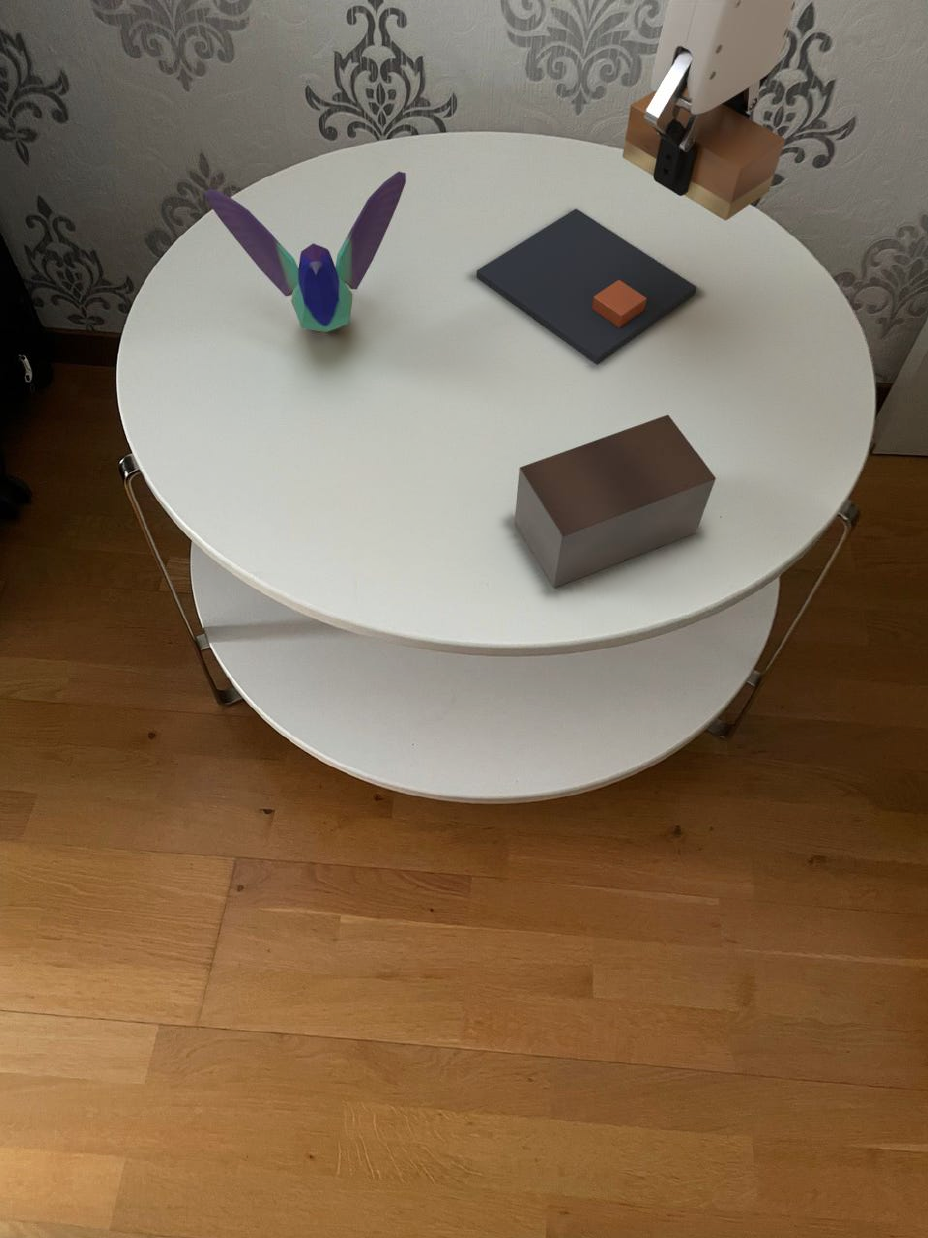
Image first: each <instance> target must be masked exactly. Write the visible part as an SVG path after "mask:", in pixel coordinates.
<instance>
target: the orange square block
mask: <svg viewBox="0 0 928 1238" xmlns="http://www.w3.org/2000/svg"><path fill="white" fill-rule="evenodd" d="M645 303H646V297H644V296H643V295H641V294H640V293H638V292H637V291H635V290H634V289H632V288H631V287H629V286H628V285H626V284H625V283H623V282H622V281H620V280H618V281H616V282H615V283H613V284H612V285H610V286H609V287H607V288H606V289H604V290H603V291H601V292H600V293H598V294H597V295H596V296H594V299H593V305H592V309H593V310H594V311H595V312H597V313H598V314H600V315H601V316H603V317H604V318H605V319H607V320H608V321H610V322H611V323H613V324H614V325H615V326H617V327H618V328H620V327H621V326H623V325H624V324H626V323H627V322H628V321H630V320H631V319H633V318H634V317H636V316H637V315H638V314H640V313H641V312H643V311H644V308H645Z"/></svg>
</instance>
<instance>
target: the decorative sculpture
mask: <svg viewBox="0 0 928 1238" xmlns="http://www.w3.org/2000/svg"><path fill="white" fill-rule="evenodd" d="M406 183H407V173H406V172H402V171H397V172H395V173H394V174H392V175H391V176H390V177H388V178H387V179H386V180H384V181H383V183H381V185H379V186H378V188H377V189H376V190H375V191H374V192H373V193H372V194H371V195H370V196H369V198H368V199H366V202H365V204H364V205H363V207H362V209H361V211H360V212H359V213H358V216H357V218H356V219H355V221H354V223H353V224H352V226H351V228H350V230H349V232H348V234H347V235H346V238H345V240H344V241H343V242H342V245H341V247H340V249H339V250H338V253H337V256H336V262H335V263H334V260H333V257H332V255H331V252H330V250H329V249H328V248H326V247H324V246H321V245H319V244H316V243H311V244H310V245H308V246H307V247H306V248H304V249H302V250H301V251H300V255H299V260H298V261H299V262H298V264H297V262H296V260H295V258H294V257H293V256H292V254H290V252H288V251H289V250H287V249H286V248H285V247H284V245H282V244H281V242H280V241H279V240H278V239H277V238H276V237H275V236H274V235H273V234H272V233H271V232H270V231H269V229H267V228H266V227H265V226H264V224H263V223H262V222H261V221H260V220H259V219H258V218H257V217H256V216H255V215H254V214H253V213H252V212H251V211H250V210H249V209H248V208H246V207H244V206H243V205H242V204H240V203H239V202H238V201H237V200H235V199H233V198H232V197H230V196H228V195H226V194H224V193H222V192H220V191H217V190H215V189H213V188H210V189H207V190H205V191H204V195H205V199H206V201H207V203H208V205H209V206H210V208H211V209H212V210H213V212H214V213H215V215H216V216H217V217H218V218H219V220H220V221H221V223H222V224H223V225H224V226H225V227H226V229H227V230H228V231H229V233H230V235H232V237H233V238H234V239H235V240H236V241H237V243H238V244H239V246H241V247H242V249H243V250H244V251H245V252H246V254H247V255H248V257H250V258H251V260H252V261H253V263H255V265H256V266H257V267H258V268H259V270H260V271H261V272H262V273H263V274H264V275H265V276H266V278H267V279H268V280H270V281H271V283H272V284H273V285H274V286H275V287H276V288H277V289H278V290H279V291H280V292H281V293H282V294H283V295H284V297H286V298H287V297H291V299H290V302H291V305H292V307H293V310H294V312H295V314H296V317H297V319H298V322H299V324H300V327H301V329H306V330H311V331H317V332H323V333H324V332H325V333H328V332H330V331H333V330H336V329H338V328H342V327H343V326H346V325H349V324H350V322H351V315H352V308H353V307H352V306H353V298H354V295H353V292H352V290H358V288H359V286H360V284H361V283H362V281H363V279H364V277H365V276H366V274H367V272H368V270H369V268H370V267H371V265H372V263H373V262H374V259H375V257H376V255H377V252H378V250H379V248H380V246H381V244H382V242H383V239H384V237H385V235H386V232H387V230H388V227H389V226H390V223H391V221H392V219H393V217H394V215H395V211H396V210H397V207H398V205H399V203H400V200H401V197H402V194H403V192H404V189H405V186H406Z"/></svg>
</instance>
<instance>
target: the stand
mask: <svg viewBox="0 0 928 1238" xmlns="http://www.w3.org/2000/svg"><path fill="white" fill-rule="evenodd" d="M698 453H699V452H697V451H696V450H695V448H694V447H693V446H692V444H691V443H690V442H689V440H688V439H687V437H686V436H685V435H684V433H683V432H682V431H681V429H680V428H679V427H678V425H677V424H676V423H675V422H674V420H673V419H672V418H671V416H670V415H669V414H666V415H662V416H660V417H657V418H655V419H651V420H649V421H646V422H644V423H640V424H637V425H635V426H632V427H629V428H627V429H624V430H621V431H618V432H615V433H612V434H609V435H607V436H605V437H601V438H599V439H595V440H593V441H590V442H587V443H584V444H581V445H578V446H576V447H573V448H570V449H567V450H565V451H562V452H559V453H557V454H553V455H551V456H548V457H545V458H543V459H539V460H537V461H533V462H531V463H529V464H526V465H523V466H520V467H519V470H518V480H517V483H518V484H517V492H516V504H515V512H514V513H515V514H514V524H515V526H516V527H517V529H518V531H519V533H520V534H521V535H522V538H523V540H524V541H525V542H526V545H527V546H528V549H530V551H531V553H532V554H533V557H534V558H535V559H536V561H537V563H538V564H539V566H540V568H541V570H542V571H543V573H544V575H545V576H546V578H547V580H548V581H549V583H550V584H551V587H552V588H553V589H556V588H559V587H561V586H564V585H566V584H569V583H572V582H574V581H577V580H580V579H581V578H584V577H587V576H590V575H592V574H594V573H597V572H600V571H602V570H605V569H608V568H611V567H612V566H614V565H617V564H620V563H623V562H625V561H628V560H630V559H633V558H635V557H637V556H640V555H643V554H645V553H648V552H651V551H654V550H656V549H658V548H661V547H664V546H666V545H668V544H671V543H673V542H676V541H679V540H681V539H684V538H687V537H689V536H692V535H694V534H696V533H697V531H698V528H699V525H700V523H701V520H702V518H703V515H704V512H705V509H706V507H707V504H708V502H709V499H710V496H711V493H712V491H713V487H714V486H715V482H716V479H717V477H716V476H715V475H714V473H713V472H712V471H711V469H710V467H708V465H707V463H706V462H704V460H703V458H702V457H701V456H700V455H699V454H698Z"/></svg>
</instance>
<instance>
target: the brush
mask: <svg viewBox="0 0 928 1238" xmlns="http://www.w3.org/2000/svg"><path fill="white" fill-rule="evenodd" d="M655 94H656V93H655V92H653V91H652V92H650V93H649V94H646V95H645V96H643V97H641V98H640V99H638V100H637V101H635V102H633V103H631V104H630V108H629V115H628V120H627V127H626V133H625V139H624V143H623V144H624V145H623V151H622V158H623V159H625V161H627V162H630V164H632V165H634V166H636V167H637V168H639V169H641V170H642V171H644V172H645V173H647V174H648V175H650V176H652V177H653V174H654V169H655V164H656V159H657V154H658V149H659V144H660V140H661V137H659V136H658V135H657V131H656V130H655V129H654V127H653V126H652V125H651V124H650V123H648V122H647V121H646V120H645V118H644V114H645V112H646V110H647V108H648V106H649V104H650V103H651V101H652V99H653V98H654V96H655ZM685 95H687V96H688V97H689V93H688V89H686V91H685ZM690 116H691V113H690V112H688V111H686V110H684V109H683V108H681V109H680V111H679V114H678V116H677V119H676V120H677V121H679V122H680V123H681V124H682V125H683V126H684V128H685V129H686V126H687V124H688V121H689V119H690ZM785 143H786V138H784V137H782V136H781V135H779V134H777V133H775V131H772V130H770V129H768V128H767V127H765V126H763V125H761V124H759V123H757V122H756V121H754V120H753V119H751V118H750V119H749V118H747V117H745V116H743V115H741V114H740V113H738V112H736V111H734V110H732V109H731V108H729V107H727V106H725V105H724V104H720V105H719V106H717V107H715V108H713V109H711V110H709V111H707V113H706V116H705V118H704V121H703V123H702V125H701V128H700V130H699V133H698V135H697V138H696V140H695V142H694V145H693V146H695V147H697V148H698V151H697V155H696V159H695V164H694V168H693V172H692V176H691V180H690V185H689V189H688V192H687V193H686V194H684V195H683V196H684V197H686V198H687V199H689V200H691V201H692V202H694V203H696V204H698V205H699V206H701V207H702V208H704V209H705V210H707V211H709V212H711V213H712V214H714V215H715V216H717V217H718V218H720V219H722V220H723V221H728V220H729V219H731V218H732V217H735V215H737V214H738V213H739V212H741V211H743V210H744V209H745V208H747V207H748V206H750V205H751V204H753V203H754V202H756V201H757V200H759V199H760V198H761V197H763V196H765V195H766V194H767V193H769V192H770V189H771V186H772V182H773V179H774V178H775V177H774V176H775V174H776V171H777V167H778V164H779V162H780V159H781V155H782V152H783V149H784V146H785Z"/></svg>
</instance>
